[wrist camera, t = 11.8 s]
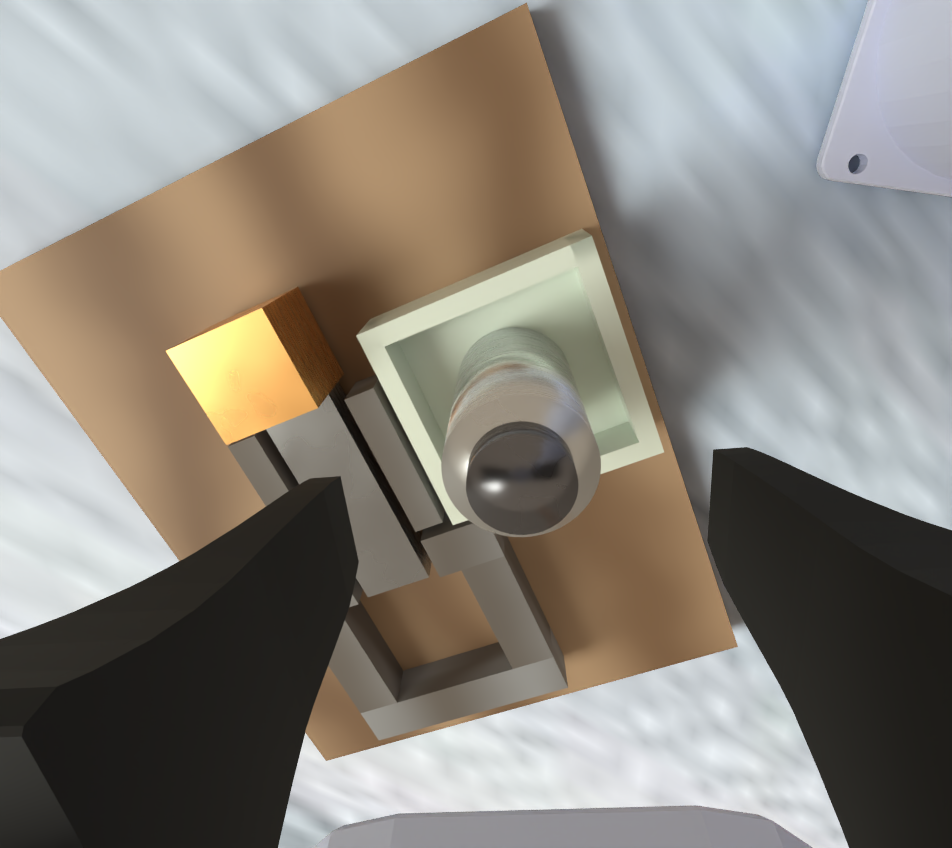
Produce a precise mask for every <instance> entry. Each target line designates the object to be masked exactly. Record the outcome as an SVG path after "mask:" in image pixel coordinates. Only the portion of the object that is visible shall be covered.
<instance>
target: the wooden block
mask: <svg viewBox="0 0 952 848" xmlns="http://www.w3.org/2000/svg"><path fill="white" fill-rule="evenodd" d="M166 352H167V354H168V355H169V357H170V358H171V360H172V361H173V363H174V364H175V366H176V368H177V369H178V371H179V372H180V374H181V375H182V377H183V378H184V380H185V382H186V383H187V385H188V386H189V388H190V389H191V391H192V393H193V394H194V396H195V397H196V399H197V400H198V402H199V403H200V405H201V407H202V408H203V410H204V411H205V413H206V414H207V416H208V417H209V419H210V421H211V422H212V424H213V425H214V427H215V428H216V430H217V432H218V433H219V435H220V436H221V438H222V439H223V441H224V442H225V444H226V445H228V444H230V443H233V442H235V441H238V440H240V439H243V438H245V437H248V436H250V435H253V434H255V433H258V432H260V431H263V430H265V429H266V430H267V432H268V433H269V435H270V437H271V438H272V440H273V442H274V443H275V445H276V447H277V448H278V450H279V452H280V453H281V455H282V457H283V458H284V460H285V461H286V463H287V465H288V466H289V468H290V470H291V471H292V473H293V475H294V476H295V478H296V480H297V481H298V483H299V484H301V483H302V482H304V481H306V480H308V479H310V478H321V477H336V476H341V481H342V485H343V490H344V495H345V499H346V504H347V509H348V514H349V518H350V523H351V528H352V532H353V537H354V542H355V546H356V551H357V556H358V560H359V564H358V569H357V574H356V579H357V580H358V582H359V584H360V585H361V587H362V588H363V590H364V592H365V593H366V595H367V597H371V596H374V595H377V594H380V593H383V592H386V591H389V590H392V589H395V588H398V587H401V586H404V585H407V584H410V583H413V582H416V581H419V580H422V579H425V578H428V577H429V575H430V569H431V563H432V561H431V560H430V558H429V556H428V554H427V552H426V550H425V548H424V547H423V545H422V543H421V537H422V536H421V534H420V532H419V531H417V532H415V530H414V528H413V526H412V524H411V523H410V521H409V519H408V517H407V515H406V513H405V512H404V510H403V508H402V506H401V504H400V502H399V500H398V499H397V497H396V495H395V493H394V491H393V489H392V487H391V486H390V484H389V482H388V480H387V478H386V476H385V475H384V473H383V471H382V469H381V467H380V465H379V463H378V462H377V460H376V458H375V456H374V454H373V452H372V451H371V449H370V447H369V445H368V443H367V441H366V439H365V438H364V436H363V434H362V432H361V430H360V428H359V426H358V425H357V423H356V421H355V419H354V417H353V415H352V414H351V412H350V410H349V408H348V406H347V404H346V402H345V401H344V399H345V398H346V395H345V393H344V391H343V389H342V388H341V386H340V384H339V382H338V381H339V380H340V378H341V377H342V376H343V374H344V373H343V371H342V369H341V367H340V365H339V363H338V361H337V360H336V358H335V356H334V354H333V352H332V350H331V348H330V346H329V344H328V343H327V341H326V339H325V337H324V335H323V333H322V331H321V329H320V328H319V326H318V324H317V322H316V320H315V318H314V316H313V314H312V312H311V311H310V309H309V307H308V305H307V303H306V301H305V299H304V297H303V296H302V294H301V292H300V290H299V288H298V287H296V288H294V289H292V290H289V291H287V292H285V293H283V294H281V295H278V296H276V297H274V298H272V299H269V300H267V301H265V302H263V303H261V304H258V305H256V306H254V307H252V308H249V309H247V310H245V311H243V312H241V313H238V314H236V315H234V316H232V317H229V318H227V319H225V320H223V321H220V322H218V323H216V324H214V325H212V326H210V327H209V328H207V329H205V330H203V331H201V332H199V333H198V334H196V335H194V336H192V337H190V338H189V339H187V340H185V341H183V342H181V343H179V344H178V345H176V346H174V347H172V348H170V349H168V350H167V351H166Z"/></svg>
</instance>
